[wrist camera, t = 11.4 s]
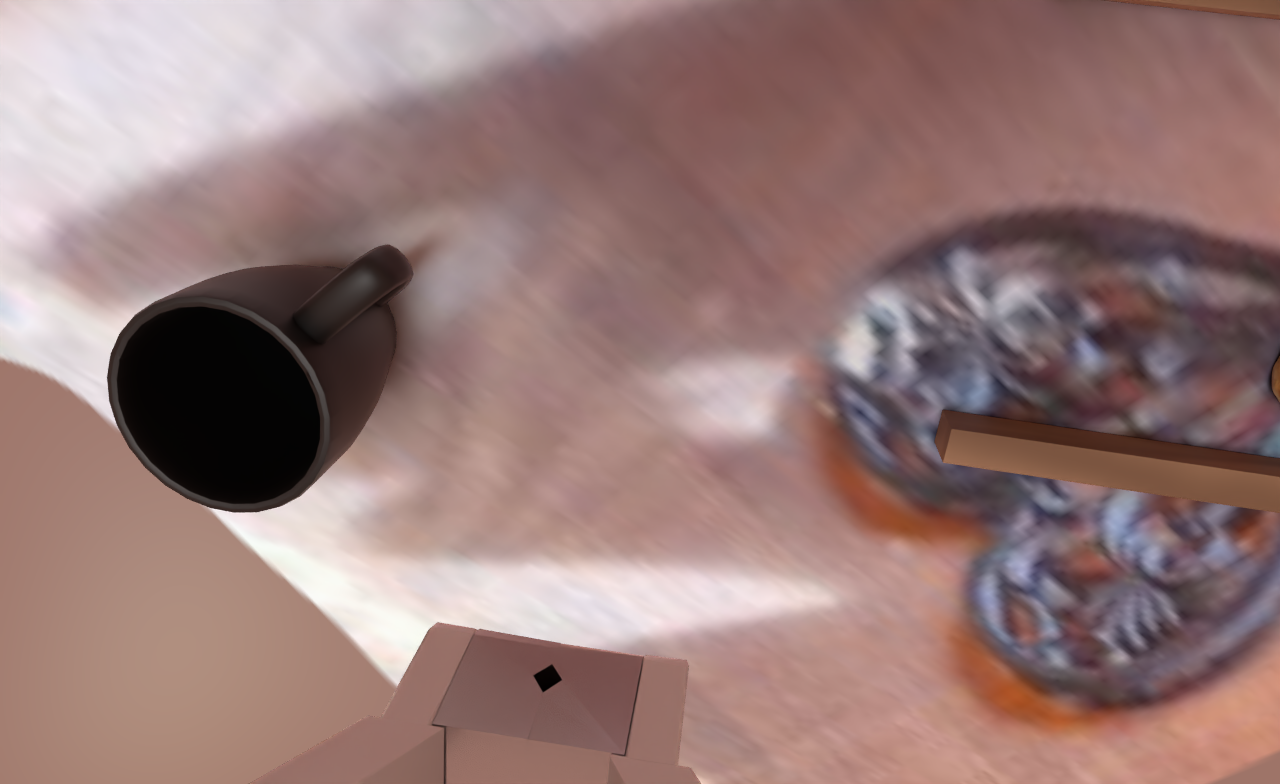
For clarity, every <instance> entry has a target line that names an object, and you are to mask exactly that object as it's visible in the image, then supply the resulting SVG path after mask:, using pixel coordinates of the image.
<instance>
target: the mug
mask: <svg viewBox="0 0 1280 784" xmlns="http://www.w3.org/2000/svg"><path fill="white" fill-rule="evenodd" d="M412 276H413V271H412V267H411V265H410V263H409V262H408V260H407V259H406V257H405V256H404V255H403V254H402V253H401V252H400V251H399V250H398V249H396V248H395V247H393V246H391V245H383V246H379V247H377V248H375V249H373V250H371V251H369V252H367V253H366V254H364V255H363V256H361V257H360V258H358V259H357V260H355V261H354V262H352V263H351V264H350V265H348V266H347V267H346V268H345V269H340V268H335V267H314V266H303V265H283V266H265V267H255V268H248V269H242V270H238V271H234V272H229V273H226V274H222V275H219V276H216V277H213V278H210V279H207V280H204V281H202V282H199V283H197V284H194V285H192V286H190V287H187V288H185V289H183V290H180V291H178V292H176V293H174V294H171V295H169V296H167V297H164V298H162V299H160V300H158V301H155V302H154V303H152V304H151V305H149V306H148V307H146V308H145V309H143V310H142V311H140V312H139V313H137V314H136V315H135V316H134V317H133V318H132V319H131V321H130V322H129V323H128V324H127V325H126V326H125V328H124V329H123V330H122V331H121V333H120V334H119V336H118V339H117V341H116V343H115V345H114V348H113V350H112V352H111V356H110V361H109V368H108V375H107V381H108V392H109V401H110V405H111V408H112V411H113V414H114V417H115V421H116V424H117V426H118V428H119V430H120V432H121V433H122V435H123V437H124V439H125V441H126V442H127V444H128V446H129V448H130V449H131V450H132V451H133V453H134V454H135V455H136V457H137V458H138V459H139V460H140V461H141V463H142V464H143V465H144V466H145V468H146V469H148V470H149V471H150V472H151V473H152V474H153V475H154V476H156V477H157V478H158V479H159V480H160V481H161V482H162V483H163V484H164V485H166V486H167V487H169V488H171V489H172V490H174V491H176V492H177V493H179V494H180V495H182V496H184V497H185V498H187V499H189V500H192V501H194V502H197V503H199V504H202V505H204V506H207V507H209V508H214V509H219V510H224V511H229V512H260V511H264V510H268V509H272V508H276V507H280V506H283V505H285V504H286V503H288V502H290V501H292V500H294V499H296V498H298V497H300V496H301V495H302V494H303V493H304V492H305V491H306V490H307V489H309V488H310V487H311V486H312V485H313V484H314V483H315V482H316V481H317V480H318V479H319V478H320V477H321V476H322V475H323V474H324V473H325V472H326V471H327V470H328V469H329V468H330V467H331V466H332V465H333V464H334V463H335V462H336V461H337V460H338V459H339V458H340V457H341V456H342V455H343V454H344V453H345V452H346V451H347V450H348V448H349V447H350V446H351V445H352V444H353V442H354V441H355V439H356V438H357V437H358V435H359V434H360V432H361V431H362V429H363V427H364V426H365V424H366V422H367V421H368V419H369V417H370V415H371V414H372V412H373V410H374V408H375V406H376V404H377V402H378V400H379V398H380V395H381V393H382V390H383V387H384V383H385V380H386V377H387V373H388V370H389V366H390V362H391V360H392V358H393V355H394V351H395V348H396V328H395V322H394V318H393V316H392V313H391V311H390V308H389V306H388V304H387V302H388V301H389V300H391V299H392V298H393V297H394V296H396V295H397V294H398V293H399V292H400V291H402V290H403V289H404V288H405V287H406V286H407V285H408V284H409V282H410V281H411V279H412Z"/></svg>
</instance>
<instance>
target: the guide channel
mask: <svg viewBox="0 0 1280 784" xmlns="http://www.w3.org/2000/svg"><path fill="white" fill-rule="evenodd" d="M1105 1H1115V2H1124V3H1133V4H1142V5H1151V6H1160V7H1170V8H1179V9H1188V10H1197V11H1206V12H1215V13H1225V14H1234V15H1243V16H1252V17H1261V18H1270V19H1279V20H1280V0H1105ZM935 444H936V447H937V449H938V452H939V454H940V456H941V459H942V461H943V463H950V464H956V465H963V466H970V467H976V468H983V469H990V470H996V471H1003V472H1010V473H1016V474H1023V475H1030V476H1036V477H1043V478H1050V479H1057V480H1063V481H1070V482H1077V483H1083V484H1090V485H1097V486H1103V487H1110V488H1117V489H1123V490H1130V491H1137V492H1143V493H1150V494H1157V495H1163V496H1170V497H1177V498H1183V499H1190V500H1197V501H1203V502H1210V503H1217V504H1223V505H1230V506H1237V507H1244V508H1250V509H1257V510H1264V511H1270V512H1277V513H1280V459H1279V458H1272V457H1265V456H1258V455H1251V454H1244V453H1237V452H1231V451H1224V450H1217V449H1210V448H1203V447H1196V446H1189V445H1182V444H1176V443H1169V442H1162V441H1155V440H1148V439H1141V438H1134V437H1127V436H1120V435H1114V434H1107V433H1100V432H1093V431H1086V430H1079V429H1072V428H1065V427H1058V426H1052V425H1045V424H1038V423H1031V422H1024V421H1017V420H1010V419H1003V418H997V417H990V416H983V415H976V414H969V413H962V412H955V411H948V410H942V414H941V418H940V422H939V426H938V430H937V434H936V438H935Z"/></svg>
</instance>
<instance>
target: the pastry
mask: <svg viewBox="0 0 1280 784" xmlns="http://www.w3.org/2000/svg"><path fill="white" fill-rule="evenodd" d="M1272 390H1273V392H1274V394H1275V396H1276V397H1277V399H1278V400H1279V402H1280V357H1279V358H1278V360H1277V362H1276V363H1275V365H1274V367H1273V371H1272Z"/></svg>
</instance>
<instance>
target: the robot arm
mask: <svg viewBox="0 0 1280 784" xmlns="http://www.w3.org/2000/svg"><path fill="white" fill-rule="evenodd" d="M688 670H689V665H688V662H687V660H682V659H674V658H666V657H659V656H651V655H645V658H644V656H641V655H635V654H628V653H621V652H614V651H607V650H601V649H594V648H587V647H580V646H573V645H567V644H561V643H557V642H551V641H545V640H540V639H534V638H528V637H523V636H517V635H511V634H506V633H500V632H494V631H489V630H483V629H479V630H477V629H474V628H468V627H462V626H456V625H450V624H444V623H439V622H437V623H436V624H435V625H434V626H432V627H431V628H430V629H429V630H428V632H427V634H426V635H425V637H424V639H423V641H422V643H421V645H420V646H419V648H418V650H417V652H416V654H415V656H414V657H413V659H412V661H411V663H410V665H409V667H408V668H407V670H406V672H405V674H404V676H403V678H402V679H401V681H400V683H399V685H398V687H397V688H396V690H395V692H394V694H393V696H392V698H391V700H390V701H389V703H388V705H387V707H386V709H385V710H384V712H383V714H382V716H381V717H375V716H366V717H365V718H363V719H361V720H359V721H358V722H356V723H354V724H352V725H351V726H349V727H347V728H345V729H344V730H342V731H340V732H338V733H337V734H335V735H333V736H332V737H330V738H328V739H326V740H324V741H323V742H321V743H319V744H317V745H316V746H314V747H312V748H310V749H309V750H307V751H305V752H303V753H302V754H300V755H298V756H296V757H294V758H293V759H291V760H289V761H287V762H286V763H284V764H282V765H281V766H279V767H277V768H276V769H273V770H272V771H270V772H268V773H266V774H265V775H263V776H261V777H260V778H258V779H256V780H254V781H252V782H251V783H249V784H701V783H700V781H699V780H698V778H697V777H696V775H695V774H694V772H693V770H692V769H691V768H689V767H684V766H678V759H679V750H680V741H681V732H682V723H683V714H684V705H685V696H686V688H687V679H688Z"/></svg>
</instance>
